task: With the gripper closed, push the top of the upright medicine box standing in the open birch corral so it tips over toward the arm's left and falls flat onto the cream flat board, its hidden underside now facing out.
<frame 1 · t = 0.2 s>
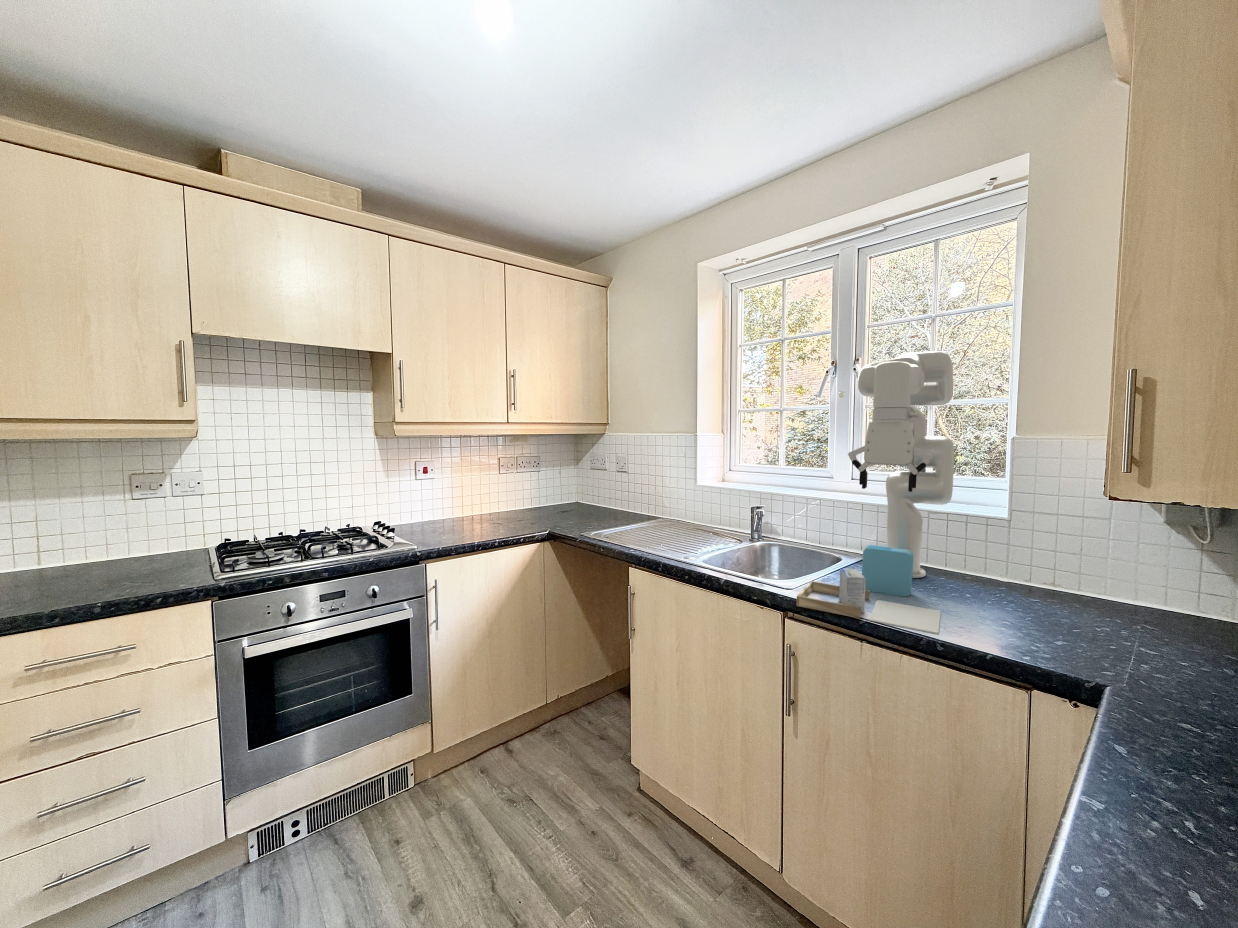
hand: (886, 489, 121), 31 cm above the worktop, fingers open, 9 cm apart
cream flat board: (905, 616, 124), on the worktop
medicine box: (851, 607, 131), on the worktop
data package: (886, 592, 142), on the worktop
birch corral: (834, 602, 133), on the worktop
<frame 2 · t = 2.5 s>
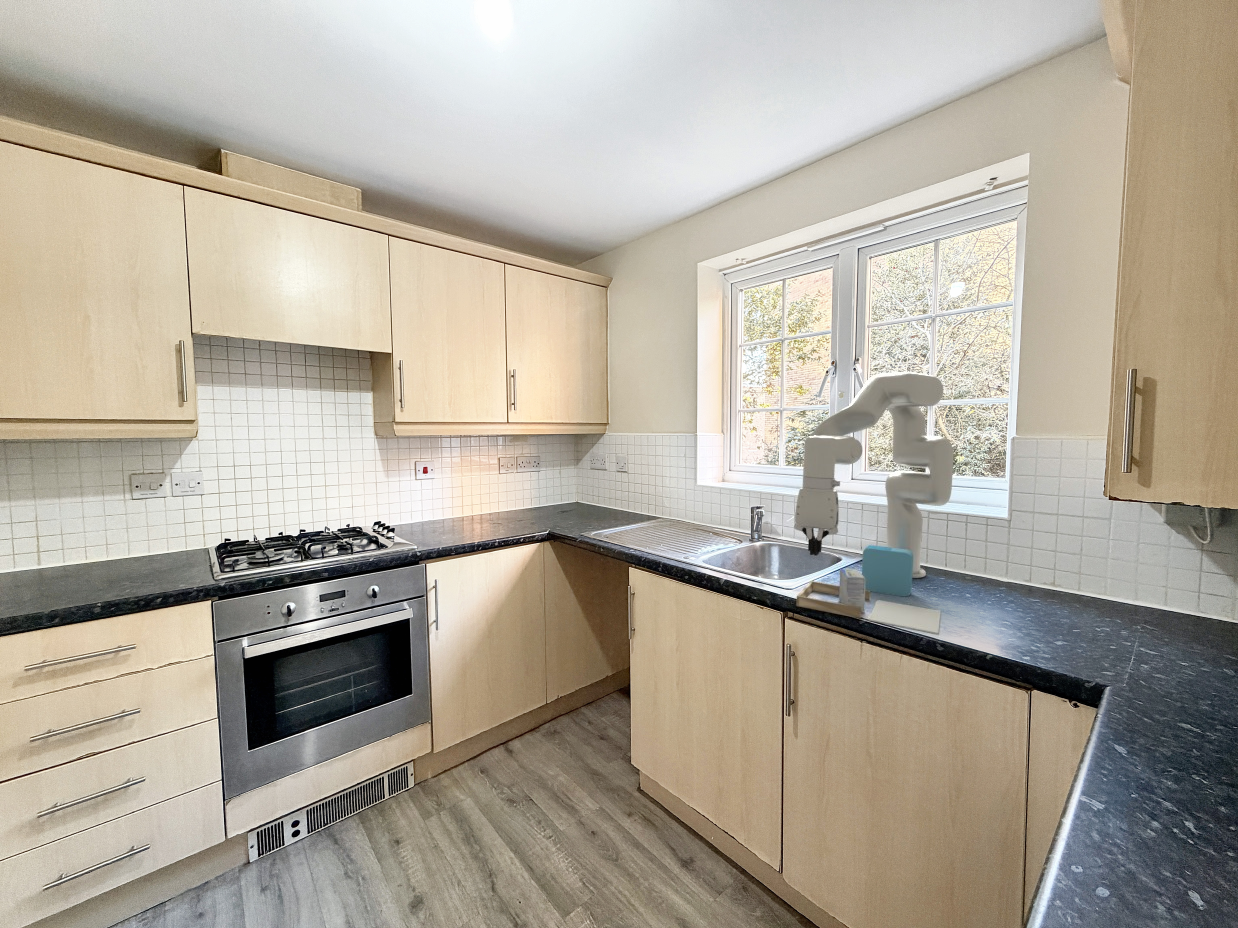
hand: (814, 554, 134), 12 cm above the worktop, fingers closed
nothing on the worktop moved.
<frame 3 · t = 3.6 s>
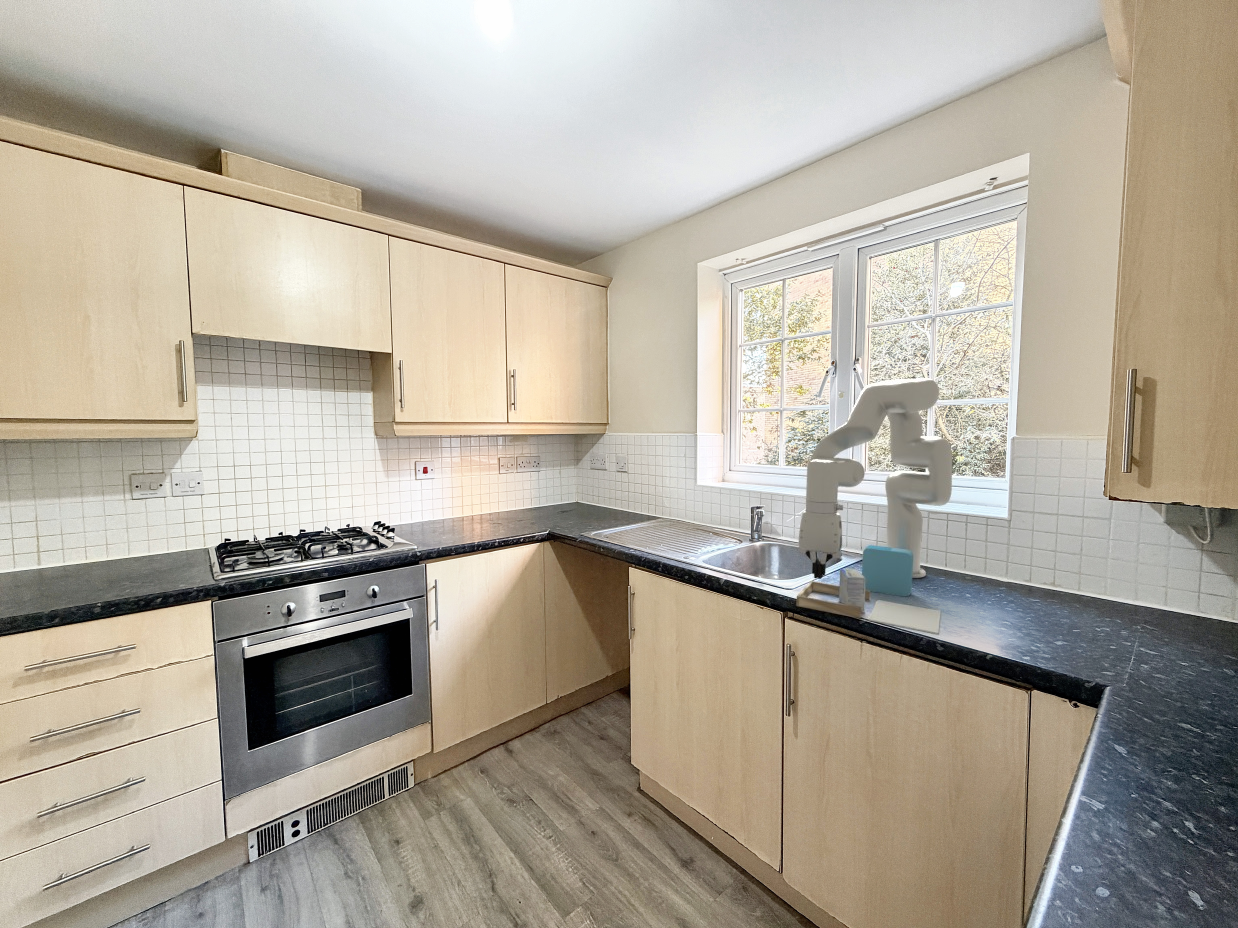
hand: (818, 577, 135), 6 cm above the worktop, fingers closed
nothing on the worktop moved.
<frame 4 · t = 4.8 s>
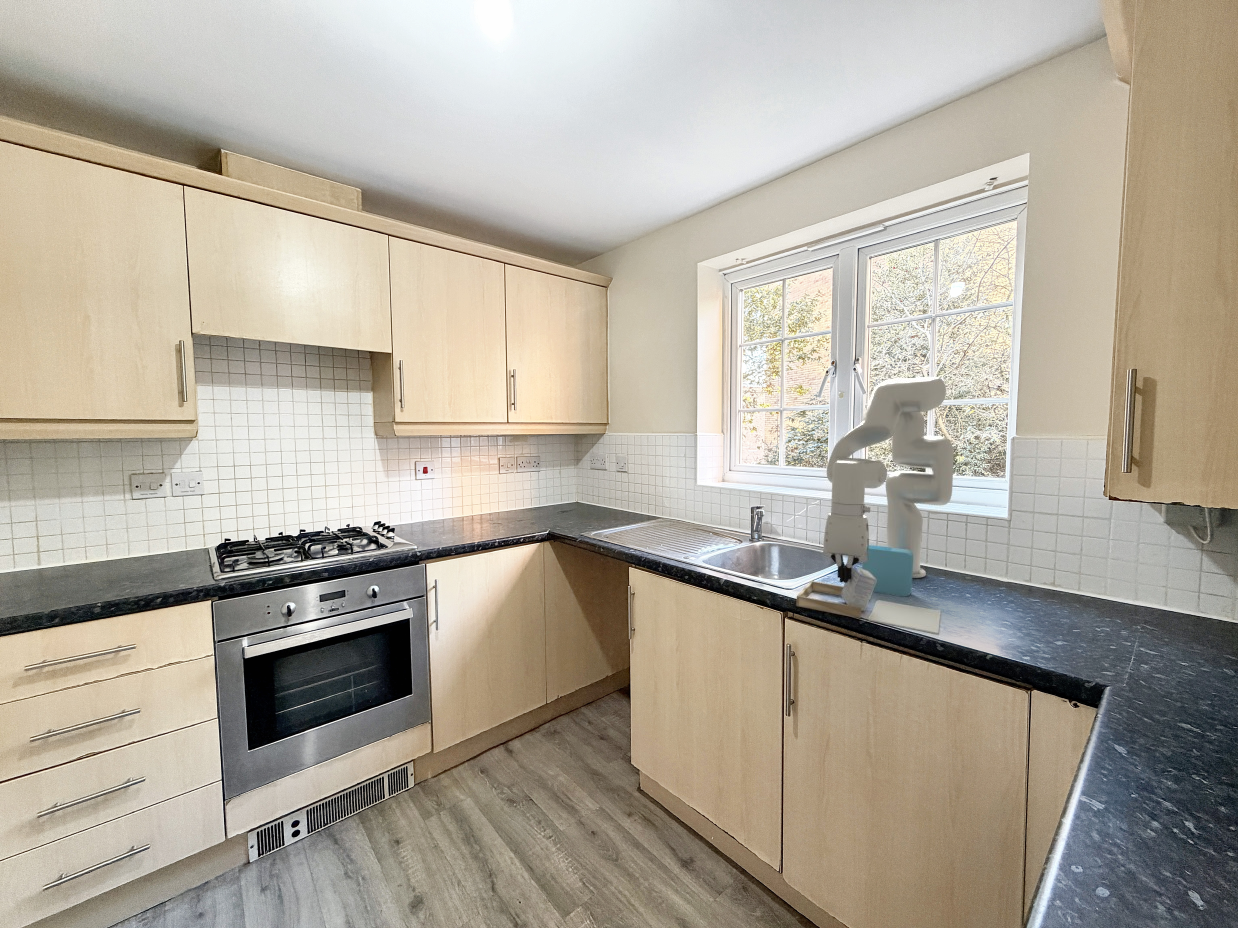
hand: (844, 581, 131), 6 cm above the worktop, fingers closed
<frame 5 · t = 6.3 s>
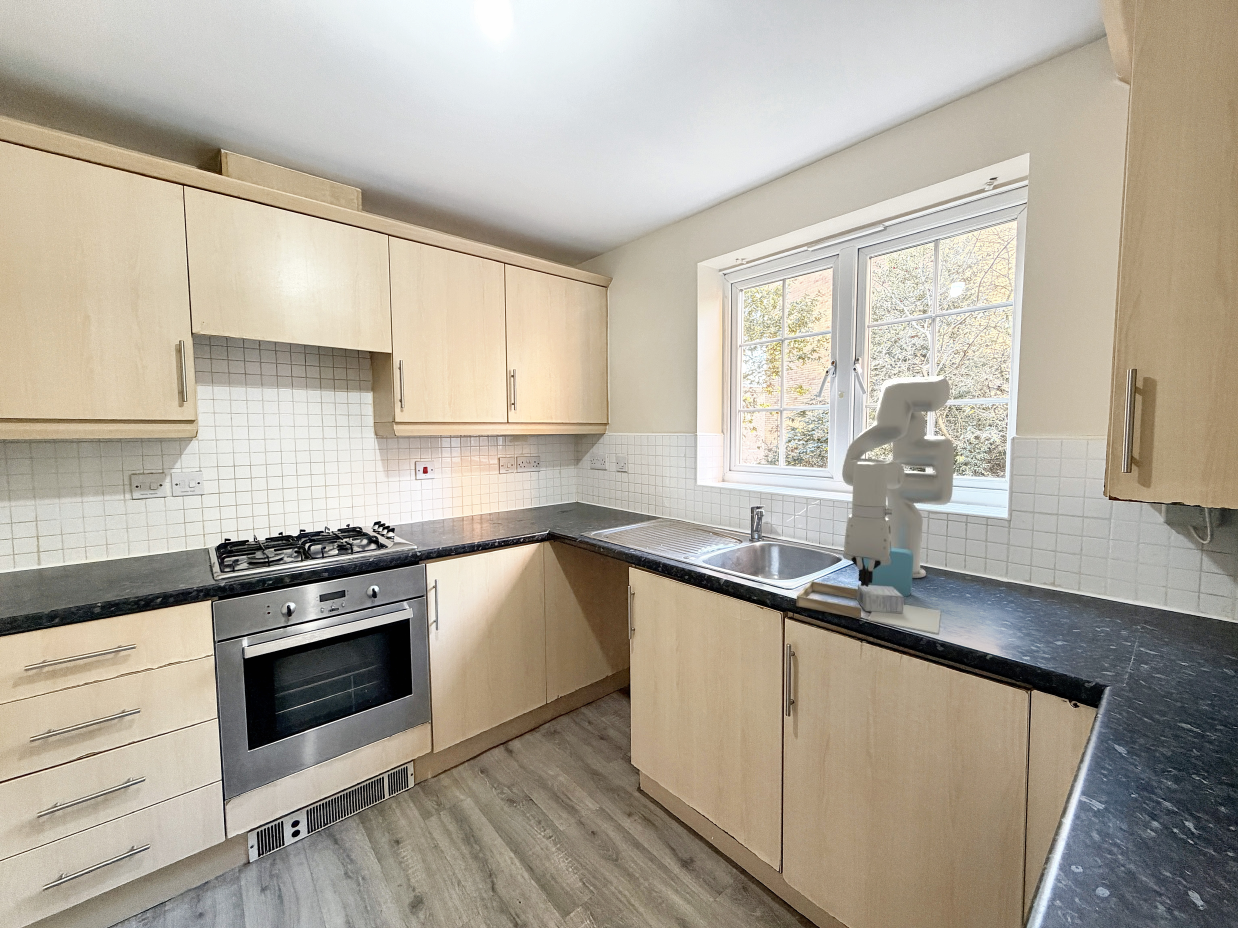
hand: (865, 584, 129), 6 cm above the worktop, fingers closed
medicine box: (860, 597, 130), point 3 cm above the worktop, touching cream flat board
everything else where it was.
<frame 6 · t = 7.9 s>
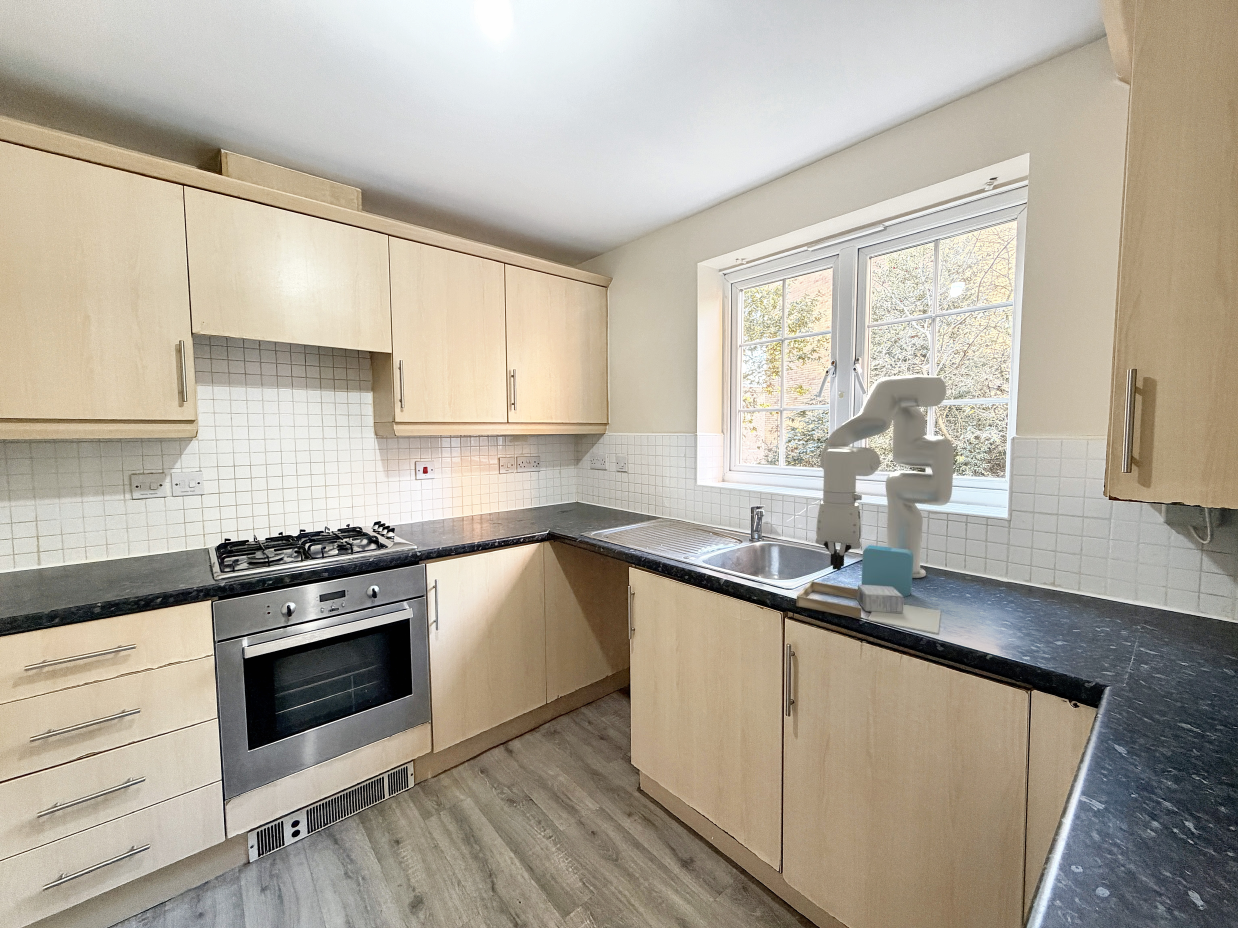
hand: (837, 568, 133), 9 cm above the worktop, fingers closed
nothing on the worktop moved.
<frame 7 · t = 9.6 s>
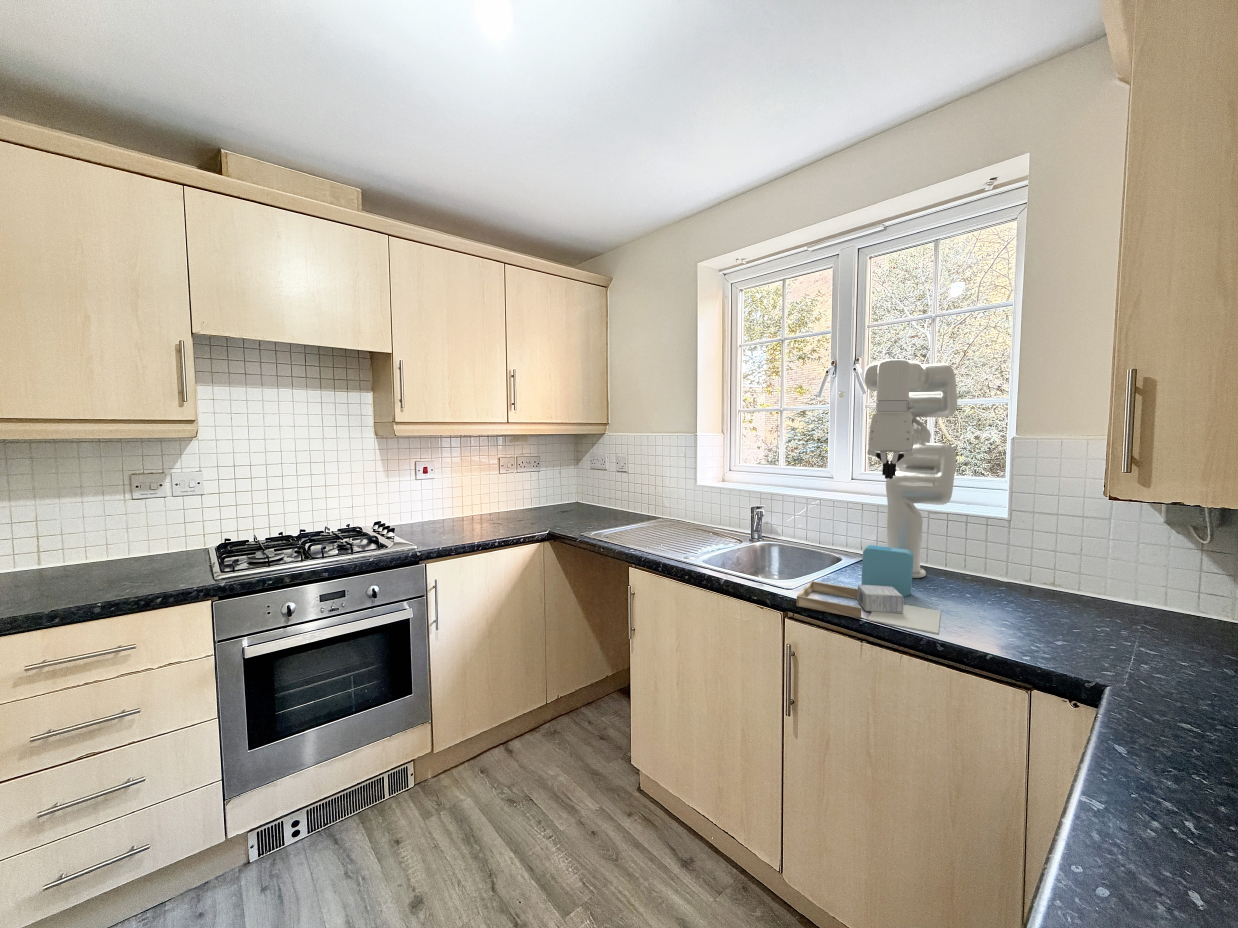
hand: (888, 478, 136), 32 cm above the worktop, fingers closed
nothing on the worktop moved.
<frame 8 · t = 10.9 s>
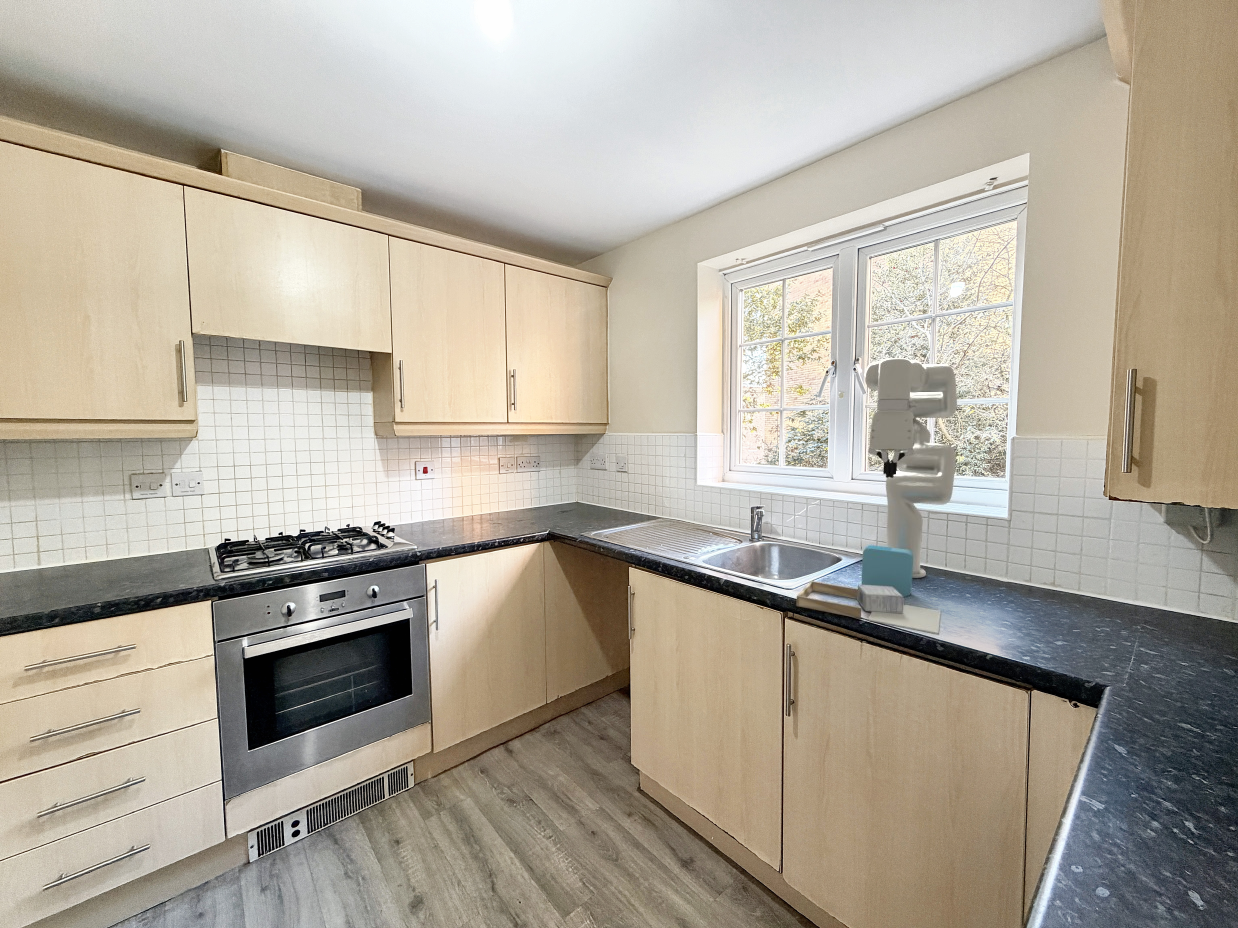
hand: (889, 477, 136), 32 cm above the worktop, fingers closed
nothing on the worktop moved.
at the end: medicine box tilted 90°; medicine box inside the target area (8.9 cm from its centre), point 2.5 cm above the worktop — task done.
